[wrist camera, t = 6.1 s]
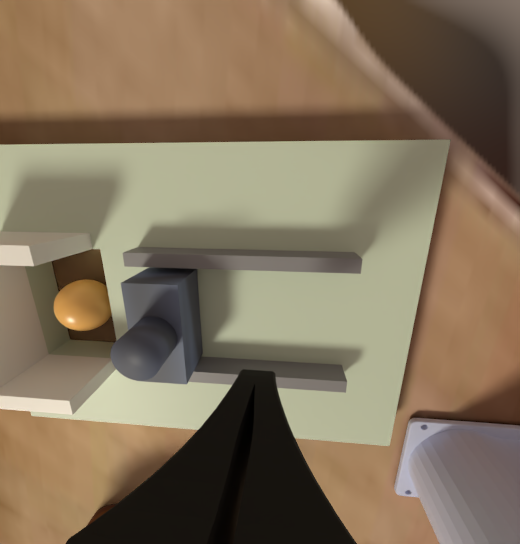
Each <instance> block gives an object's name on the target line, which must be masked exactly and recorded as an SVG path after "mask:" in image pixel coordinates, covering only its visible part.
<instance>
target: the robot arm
mask: <svg viewBox="0 0 520 544" xmlns="http://www.w3.org/2000/svg"><path fill="white" fill-rule="evenodd" d="M394 489H395V491H396V493H397V494H398V495H401V496H410V497H419V498H420V500H421V503H422V505H423V507H424V509H425V512H426V514H427V516H428V518H429V521H430V523H431V525H432V527H433V530H434V532H435V534H436V536H437V539H438V541H439V543H440V544H520V425H507V424H494V423H480V422H467V421H454V420H440V419H427V418H412V419H410V420H409V422H408V427H407V431H406V436H405V440H404V445H403V449H402V454H401V459H400V463H399V468H398V472H397V477H396V481H395V486H394ZM66 544H357V543H356V542H355V541H354V539H353V538H352V536H351V535H350V533H349V532H348V530H347V529H346V527H345V526H344V524H343V523H342V521H341V520H340V518H339V517H338V515H337V514H336V512H335V511H334V509H333V507H332V506H331V504H330V502H329V501H328V499H327V498H326V496H325V494H324V493H323V491H322V489H321V488H320V486H319V484H318V483H317V481H316V479H315V477H314V476H313V474H312V472H311V470H310V468H309V466H308V465H307V463H306V461H305V459H304V457H303V455H302V453H301V451H300V449H299V446H298V444H297V442H296V440H295V438H294V435H293V433H292V431H291V428H290V426H289V423H288V421H287V418H286V415H285V412H284V409H283V407H282V404H281V400H280V397H279V393H278V389H277V384H276V374H275V373H274V372H273V371H262V370H247V369H243V370H241V371H240V373H239V375H238V377H237V378H236V380H235V382H234V383H233V385H232V386H231V388H230V389H229V391H228V392H227V394H226V395H225V397H224V398H223V399H222V401H221V402H220V403H219V405H218V406H217V408H216V409H215V410H214V411H213V413H212V414H211V415H210V416H209V418H208V419H207V420H206V421H205V422H204V424H203V425H202V426H201V427H200V428H199V430H198V431H197V432H196V433H195V434H194V435H193V436H192V437H191V438H190V439H189V440H188V442H187V443H186V444H185V445H184V446H183V447H182V448H181V449H180V450H179V451H178V452H177V453H176V454H175V455H174V456H173V457H171V458H170V459H169V460H168V461H167V462H166V463H165V464H164V465H163V466H162V467H161V468H160V469H159V470H158V471H156V472H155V473H154V474H153V475H152V476H151V477H150V478H148V479H147V480H146V481H145V482H143V483H142V484H141V485H140V486H139V487H137V488H136V489H135V490H134V491H133V492H131V493H130V494H129V495H128V496H126V497H125V498H124V499H123V500H122V501H120V502H119V503H118V504H116V505H115V506H114V507H112V508H111V509H110V510H108V511H107V512H105V513H104V514H103V515H101V516H100V517H99V518H97V519H96V520H94V521H93V522H92V523H90V524H89V525H88V526H86V527H85V528H83V529H82V530H81V531H79V532H78V533H76V534H75V535H73V536H72V537H71V538H69V539H68V541H67V542H66Z"/></svg>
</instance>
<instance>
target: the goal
mask: <svg viewBox="0 0 520 544" xmlns="http://www.w3.org/2000/svg"><path fill="white" fill-rule="evenodd" d="M91 249H93V248H92V243H91V238H90V233H59V232H8V231H0V409H9V410H21V411H33V412H45V413H57V414H69V415H73V414H74V413H75V412H76V411H77V410H78V409H79V408H80V407H81V406H82V405H83V404H84V403H85V402H86V400H87V399H88V398H89V397H90V396H91V395H92V394H93V393H94V392H95V391H96V390H97V389H98V388H99V387H100V386H101V385H102V384H103V383H104V382H105V381H106V379H107V378H108V377H109V376H110V375H111V374H112V373H113V372H114V371H115V367H114V365H113V363H112V361H111V358H100V357H84V356H68V355H52V354H49V353H48V350H47V346H46V342H45V339H44V335H43V331H42V328H41V324H40V320H39V317H38V313H37V309H36V306H35V302H34V298H33V295H32V291H31V287H30V284H29V280H28V276H27V273H26V269H25V266H37V265H40V264H44V263H47V262H50V261H54V260H57V259H60V258H64V257H67V256H71V255H74V254H77V253H81V252H84V251H88V250H91Z"/></svg>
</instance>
